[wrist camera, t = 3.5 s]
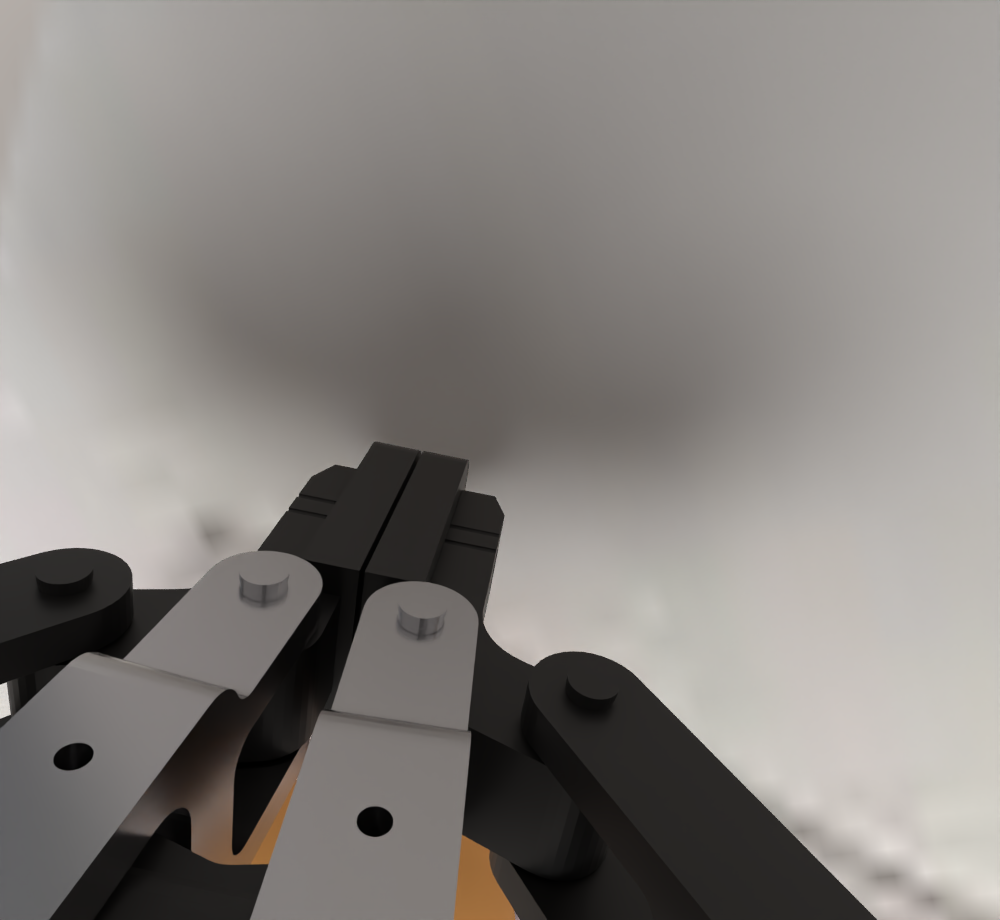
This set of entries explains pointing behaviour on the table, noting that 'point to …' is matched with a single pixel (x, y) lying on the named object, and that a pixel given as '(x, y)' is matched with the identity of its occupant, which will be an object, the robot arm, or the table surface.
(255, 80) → the table surface
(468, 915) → the ball
